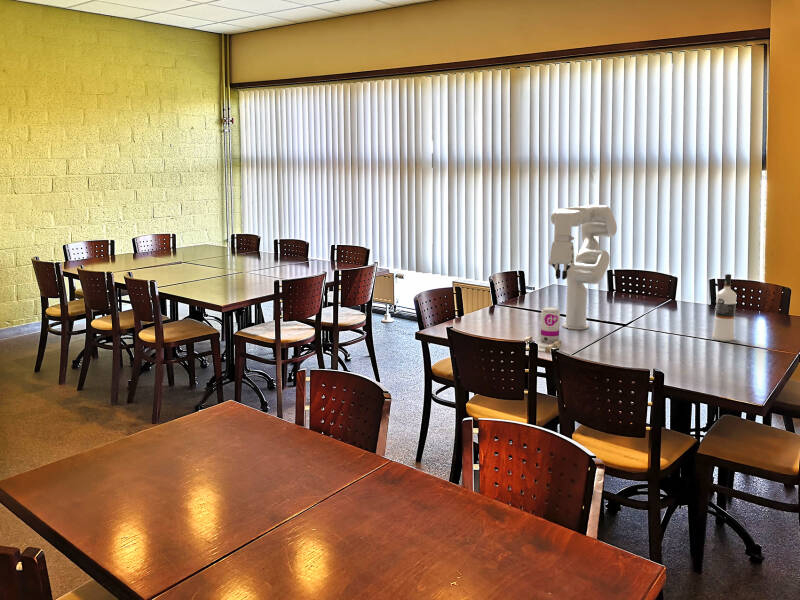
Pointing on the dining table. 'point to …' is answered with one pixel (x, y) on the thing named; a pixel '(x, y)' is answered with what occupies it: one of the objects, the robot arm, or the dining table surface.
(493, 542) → the dining table surface
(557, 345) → the rail cradle
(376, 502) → the dining table surface
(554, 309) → the supplement can
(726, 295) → the vodka
